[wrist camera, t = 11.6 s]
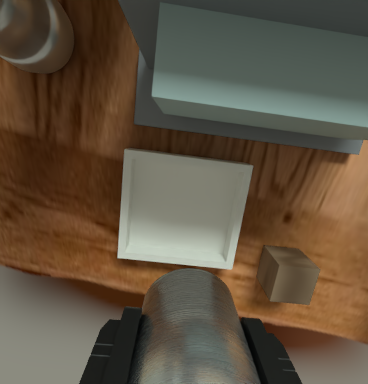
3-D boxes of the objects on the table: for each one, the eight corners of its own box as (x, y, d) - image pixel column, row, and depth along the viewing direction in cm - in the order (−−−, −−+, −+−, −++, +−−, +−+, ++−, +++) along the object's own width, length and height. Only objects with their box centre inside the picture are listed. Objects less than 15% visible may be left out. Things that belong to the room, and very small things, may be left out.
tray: (246, 162, 25) (253, 165, 23) (227, 257, 28) (231, 269, 26) (129, 147, 24) (124, 149, 22) (122, 246, 27) (117, 257, 25)
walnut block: (298, 248, 28) (320, 269, 24) (289, 279, 29) (309, 304, 25) (263, 244, 28) (279, 265, 24) (256, 276, 29) (269, 301, 25)
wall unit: (371, 85, 23) (746, -9, 8) (350, 153, 25) (624, 185, 10) (141, 49, 22) (57, -149, 7) (136, 124, 24) (58, 107, 8)
